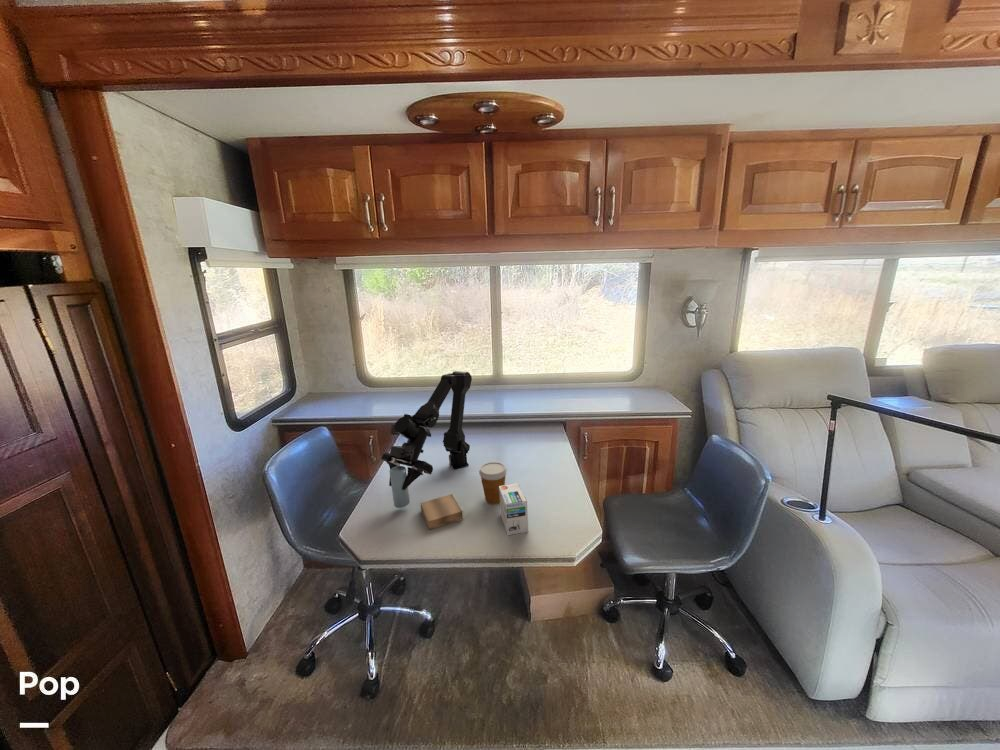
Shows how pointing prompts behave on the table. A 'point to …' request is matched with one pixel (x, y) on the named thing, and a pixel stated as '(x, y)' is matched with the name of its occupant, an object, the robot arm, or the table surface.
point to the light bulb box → (513, 509)
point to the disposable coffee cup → (492, 480)
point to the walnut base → (441, 511)
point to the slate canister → (399, 486)
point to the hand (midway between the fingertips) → (396, 487)
